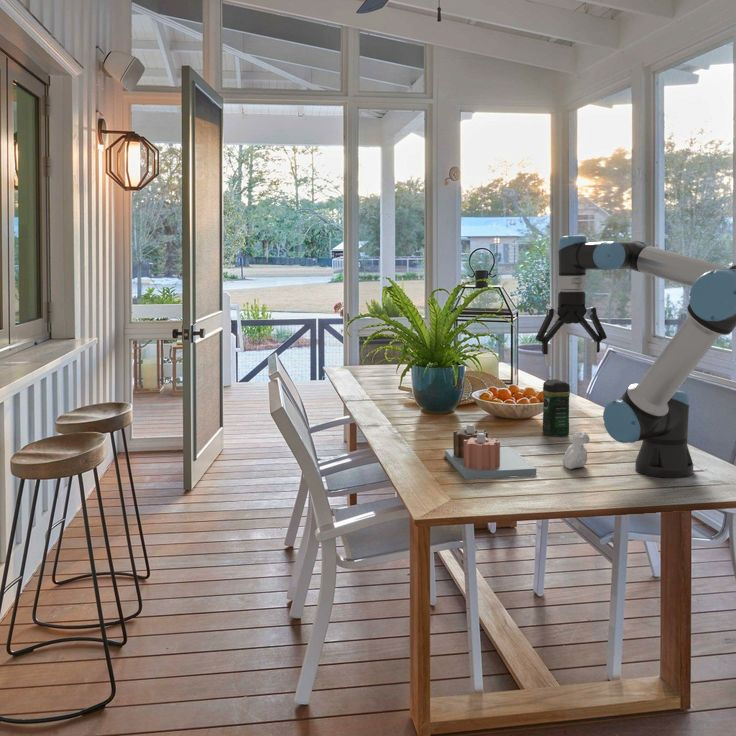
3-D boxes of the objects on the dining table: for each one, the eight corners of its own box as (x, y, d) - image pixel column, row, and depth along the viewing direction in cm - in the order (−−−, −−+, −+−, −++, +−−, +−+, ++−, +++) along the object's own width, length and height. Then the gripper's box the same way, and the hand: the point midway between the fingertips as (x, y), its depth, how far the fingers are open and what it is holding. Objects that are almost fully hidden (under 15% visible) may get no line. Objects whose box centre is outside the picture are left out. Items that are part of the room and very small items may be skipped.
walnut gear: (491, 458, 230) (491, 434, 229) (458, 460, 229) (458, 436, 228) (482, 450, 239) (482, 427, 238) (450, 451, 238) (450, 429, 237)
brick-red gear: (493, 460, 228) (493, 436, 227) (503, 469, 218) (503, 444, 217) (460, 461, 227) (460, 438, 226) (469, 470, 217) (468, 446, 216)
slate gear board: (536, 475, 218) (536, 436, 217) (465, 479, 216) (465, 439, 214) (508, 452, 244) (508, 417, 242) (445, 456, 242) (444, 420, 240)
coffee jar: (572, 436, 264) (573, 381, 261) (549, 437, 263) (550, 382, 260) (561, 430, 273) (562, 377, 271) (539, 431, 272) (539, 378, 270)
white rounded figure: (577, 479, 221) (603, 449, 219) (555, 463, 222) (581, 432, 219) (574, 468, 233) (599, 439, 230) (553, 452, 233) (578, 423, 231)
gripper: (533, 292, 220) (532, 368, 223) (619, 290, 222) (617, 364, 225) (525, 291, 227) (524, 364, 230) (608, 289, 230) (606, 361, 233)
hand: (570, 364), depth 228 cm, fingers open, 13 cm apart
